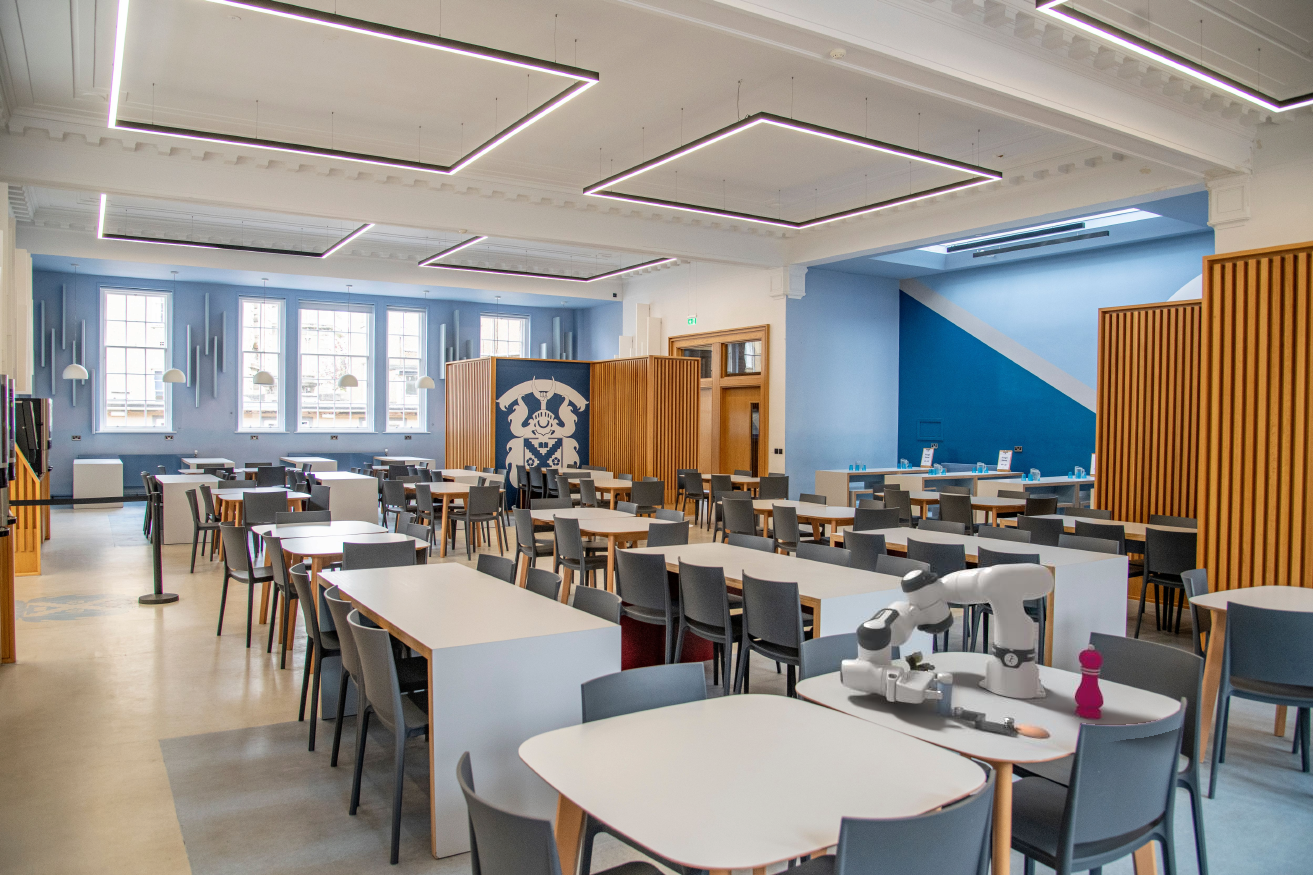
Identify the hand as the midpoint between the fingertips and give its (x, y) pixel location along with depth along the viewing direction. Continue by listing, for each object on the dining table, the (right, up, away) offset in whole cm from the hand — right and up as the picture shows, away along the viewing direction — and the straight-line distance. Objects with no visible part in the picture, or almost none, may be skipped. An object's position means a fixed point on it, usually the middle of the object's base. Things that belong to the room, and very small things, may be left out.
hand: (945, 690), depth 228 cm
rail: (+7, -7, -7) cm, 12 cm away
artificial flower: (-2, -6, +36) cm, 36 cm away
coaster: (+19, -7, -12) cm, 23 cm away
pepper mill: (+41, -8, +3) cm, 42 cm away
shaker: (0, -6, 0) cm, 7 cm away
